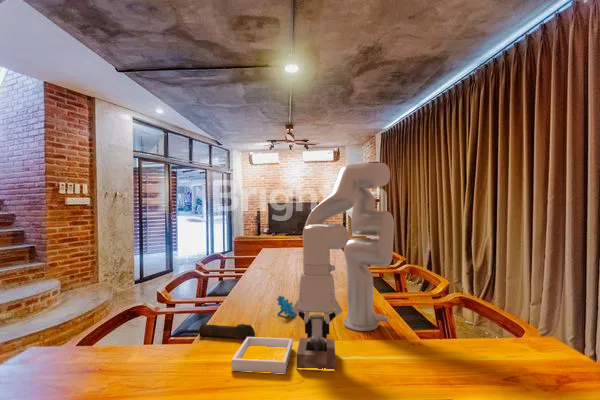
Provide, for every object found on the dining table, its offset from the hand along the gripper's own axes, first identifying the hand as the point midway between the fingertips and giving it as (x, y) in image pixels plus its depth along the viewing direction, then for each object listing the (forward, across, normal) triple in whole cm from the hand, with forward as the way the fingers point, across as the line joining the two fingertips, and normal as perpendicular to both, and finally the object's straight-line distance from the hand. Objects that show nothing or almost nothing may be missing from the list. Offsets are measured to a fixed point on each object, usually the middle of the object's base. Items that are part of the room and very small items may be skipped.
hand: (317, 335), depth 78 cm
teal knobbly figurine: (+7, +14, -35) cm, 38 cm away
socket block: (+7, 0, 0) cm, 7 cm away
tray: (+7, +15, +1) cm, 16 cm away
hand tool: (+7, +30, -13) cm, 34 cm away
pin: (+5, 0, 0) cm, 5 cm away
